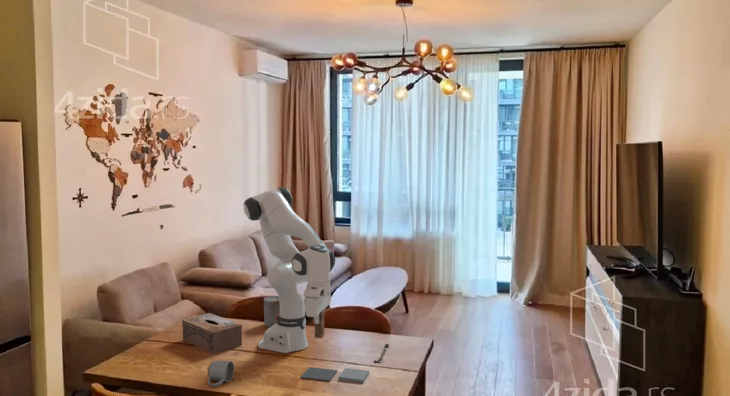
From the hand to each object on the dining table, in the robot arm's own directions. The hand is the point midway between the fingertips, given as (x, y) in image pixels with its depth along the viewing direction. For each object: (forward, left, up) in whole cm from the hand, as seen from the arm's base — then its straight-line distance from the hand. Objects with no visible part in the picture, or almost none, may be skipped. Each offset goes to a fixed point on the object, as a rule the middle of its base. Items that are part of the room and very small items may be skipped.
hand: (319, 321), depth 224 cm
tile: (+14, +6, -21) cm, 26 cm away
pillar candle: (-42, +52, -22) cm, 70 cm away
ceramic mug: (-35, -16, -22) cm, 44 cm away
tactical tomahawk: (+21, +28, -22) cm, 42 cm away
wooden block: (0, 0, -6) cm, 6 cm away
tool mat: (0, 0, -22) cm, 22 cm away
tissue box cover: (-59, +21, -22) cm, 66 cm away
